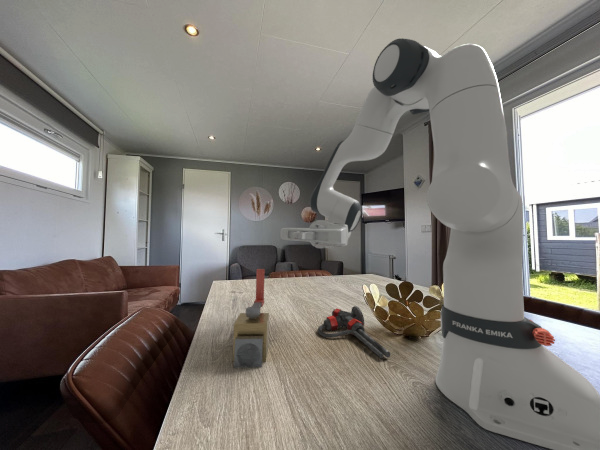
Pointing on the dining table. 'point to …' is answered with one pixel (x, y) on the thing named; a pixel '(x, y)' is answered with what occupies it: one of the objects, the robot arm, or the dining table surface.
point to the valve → (351, 328)
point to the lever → (257, 295)
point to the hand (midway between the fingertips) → (297, 235)
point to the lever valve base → (250, 340)
